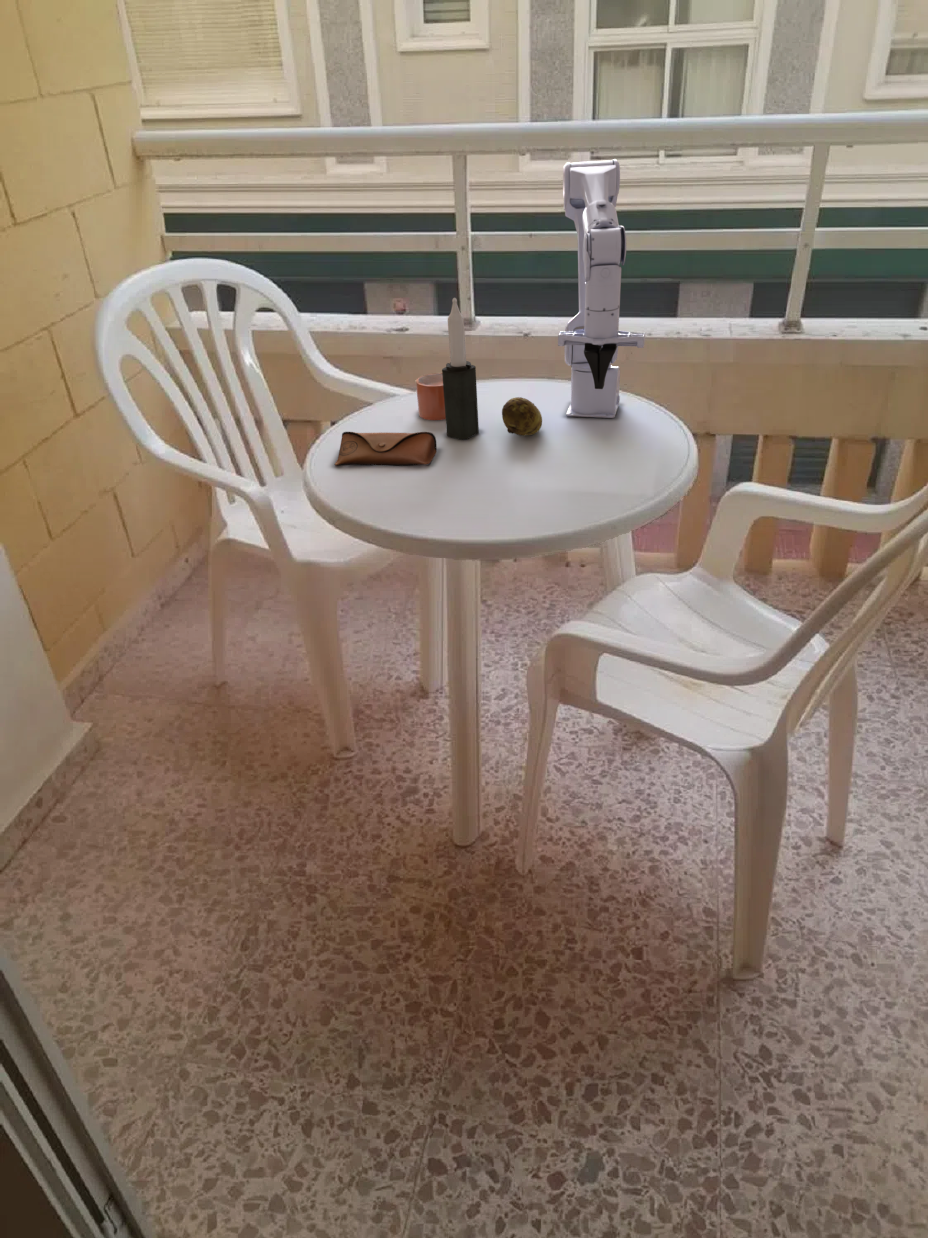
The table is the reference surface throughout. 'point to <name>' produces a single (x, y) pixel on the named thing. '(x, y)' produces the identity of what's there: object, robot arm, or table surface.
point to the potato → (521, 417)
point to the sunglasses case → (387, 449)
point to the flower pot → (431, 396)
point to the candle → (459, 383)
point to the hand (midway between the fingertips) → (599, 387)
